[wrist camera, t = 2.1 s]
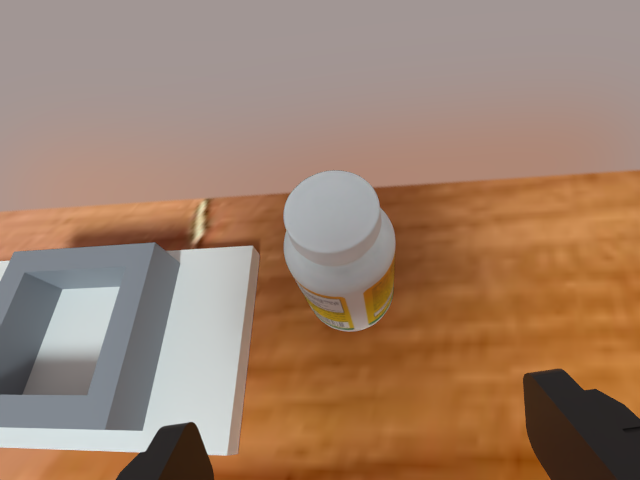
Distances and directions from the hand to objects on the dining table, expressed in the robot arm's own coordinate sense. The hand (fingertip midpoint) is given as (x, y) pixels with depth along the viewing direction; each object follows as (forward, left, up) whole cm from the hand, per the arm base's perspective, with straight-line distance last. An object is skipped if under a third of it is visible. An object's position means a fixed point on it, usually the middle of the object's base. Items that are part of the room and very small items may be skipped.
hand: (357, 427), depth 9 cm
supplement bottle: (+4, -7, -12) cm, 14 cm away
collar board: (+18, +2, -12) cm, 22 cm away
